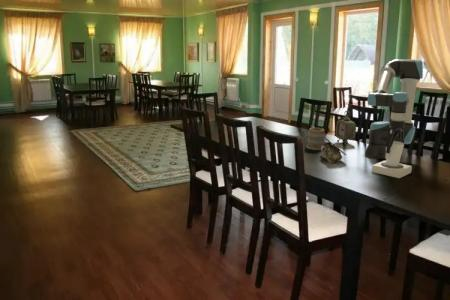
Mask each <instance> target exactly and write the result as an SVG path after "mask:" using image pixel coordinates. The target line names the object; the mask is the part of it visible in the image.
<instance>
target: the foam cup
mask: <svg viewBox="0 0 450 300" xmlns="http://www.w3.org/2000/svg"><path fill="white" fill-rule="evenodd" d="M404 147H405V144H404V143H402V142H397V141H394V142H393V144H392V146H391V148H392V151H391V159H385V161H386V164H387V165H388V166H398V165H399V163H400V160H401V158H402V157H401V156H402V153H403V150H404ZM386 148H387V147H386Z"/></svg>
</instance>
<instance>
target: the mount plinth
mask: <svg viewBox="0 0 450 300" xmlns="http://www.w3.org/2000/svg"><path fill="white" fill-rule="evenodd" d="M412 169H413V167H412V165H409V164H403V163H400V162H399V165H398V166H388V165H387V164H386V160H382V161H380V162H377V163H375V164H372V166H371V173H375V174H379V175H380V174H381V175H384V176H388V177H393V178H396V179H401V178H402V177H406V176H407V175H409V174H411V173H412Z"/></svg>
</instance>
